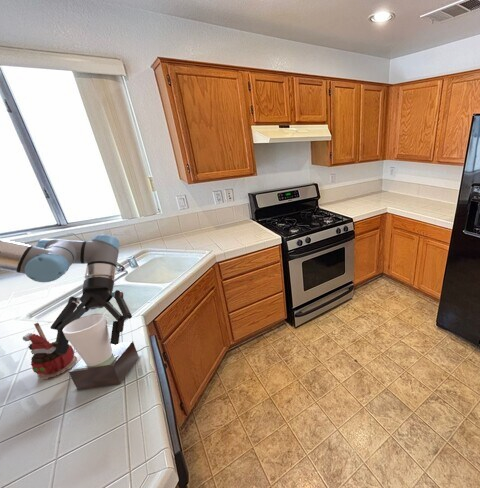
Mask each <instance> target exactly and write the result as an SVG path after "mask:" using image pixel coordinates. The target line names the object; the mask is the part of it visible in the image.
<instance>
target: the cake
mask: <svg viewBox="0 0 480 488" xmlns="http://www.w3.org/2000/svg"><path fill="white" fill-rule="evenodd" d="M33 325H34V327H35V329H36V332H37V333H38V334H36V333H33V332H29V333H26V334H25V335H24V336H22V340H23V341H24V342H29V341H30V342H31V343H29V346H28V349H29V350H30V353H31V355H32V356H31V359H30V360H31V362H30V365H31V367H32V368H31V369H32V371H33V373H35V374H37V375H36V377H37V378H39V380H44V379H45V380H46V379H49V378H53V377H56V376H59V375H60V374H63V373H64V372H65V371H68V370H71V369H72V368H73V367H74V366H75V365H76V364H77V361H78V357H77V356H75V351H74V349H73V346H72V344H70V343H68V347H67V352H66V354H57V353H56V351H57V346H58V342H56V340H55V341H52V342H50V341H48V339H47V337H46V335H45V333H44V331H43V329H42V327H41V325H40V323H39V322H35V323H33Z"/></svg>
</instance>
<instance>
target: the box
mask: <svg viewBox="0 0 480 488" xmlns="http://www.w3.org/2000/svg"><path fill="white" fill-rule="evenodd" d="M111 348H112V356H111V357H110V358H109V359H108V360H106V361H105V362H103V363H101V364H98V365H95V366H87V364H86V363H85V362H84V361H83V359H82V358H81V359H80V360H79V361H78V362H76V364H74V365H73V366H72V367H71V368H70V369H69V371H68V374H69V376H70V378H71V380H72V382H73V385H74V386H75V389H76V391H81V390H87V389H94V388H101V387H106V386H107V387H108V386H114V385H121V384H122V382H123V381H124V380H125V378H126V377H127V375H128V374H129V372H130V371H131V369H132V368H133V367H134V366H135V364H136V363H137V361H138V360H139V358H140V356H139V353H138V350H137V349H136V345H135V343H134V341H133V340H131V341H123V342H119V344H117V345H115V344H111Z"/></svg>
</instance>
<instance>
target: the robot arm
mask: <svg viewBox="0 0 480 488" xmlns="http://www.w3.org/2000/svg"><path fill="white" fill-rule="evenodd" d="M36 243H37V244H35V245H36V246H33V245H29V244H25V243H21V242H15V241H10V240H5V239H1V238H0V271H6V272H12V273H20V274H24V275H26V277H27V278H29V279H30V280H32V281H34V282H37V283H51V282H55V281H57V280H59V279H60V278H61V277H63V276H64V275H66V273H67V272H68V271H69V269H70V267H71V266H72V265H73V264H74V265H75V264H78V265H79V264H81V265H85V264H86V269H85V272H84V273H85V274H84V280H83V284H82V289H81V290H82V295H81V296H80V297H79V296H78V297H76V296H70V297H69V298H68V300H67V304H66V305H65V307H63V309H62V310H61V312H59V314H58V316H57V317H56V318H55V320H54V321H53V323H52V324H51V325H50V329H51V330H56V331H57V333H56V338H55V341H56V342H58V346H57V351H56V353H57V354H66V352H67V347H68V344H69V343H70V342H69V340H67V339H66V337H65V335H64V333H63V331H62V330H63V328H64V327H65V326H66V325H68V324H69V323H71V322H72V321H74V320H76V319H79V318H81V317H83V316H84V315H85V314H86V313H87V312H89V311H90V310H91V311H93V310H97V309H103V308H105V309H106V311H108V312H109V313H110V315H111V316H112V317H113V318H114V319H115V320H113V321H112V329H111V334H110V335H111V336H110V344H115V345H117V344H119V343H120V335H121V333H122V332H123V331H124V326H125V322H126V320H128V319H129V320H130V319H131V318H132V317H133V315H132V312H131V311H130V309H129V306H128V305H127V303H126V301H125V299H124V292H123V291H121V290H119V289H116V290H115V291H114V287H115V281H114V280H115V279H116V272H117V265H118V258H119V252H120V241H119V239H118V238H117V237H115V236H113V235H109V234H96V235H94V236H93V237H92V239H91V240H74V239H62V238H61V239H60V238H41V239H39V240H38V241H37V242H36ZM113 291H114V292H113ZM113 298H114V299H115V302H116V304H117V306H118V308H119V310H120V312H119V310H117V308H116V307H115V306H114V305H113V304H112V303H111V300H112V299H113Z"/></svg>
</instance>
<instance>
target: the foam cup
mask: <svg viewBox="0 0 480 488" xmlns="http://www.w3.org/2000/svg"><path fill="white" fill-rule="evenodd" d="M62 331H63V333H64V335H65V337H66V339H67V340H69V342H68V343H69V344H70V345H71V346H72V348H74V350H75V351H76V353H77V354H78V355H79V357H80V358H81V359H83V361H84V362H85V363H86V364H87V366H95V365H98V364H101V363H103V362H105V361H106V360H108V359H109V358H110V357H111V356H112V348H111V344H110V342H111V337H110V332H109V328H108V320H107V318H106V316H105V315H104V314H103V313H91V314H87V315H85V316H84V315H83V316H81V317H80V318H79V319H76V320H74V321H72V322H71V323H69V324H68V325H66V326H65V327H64V328H63V330H62Z"/></svg>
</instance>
